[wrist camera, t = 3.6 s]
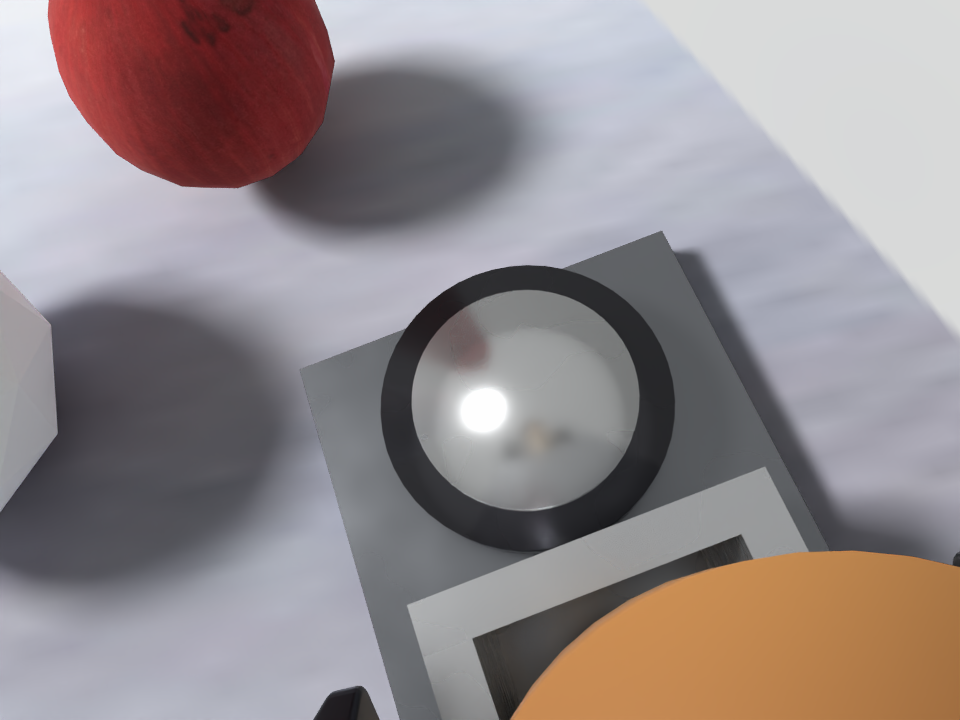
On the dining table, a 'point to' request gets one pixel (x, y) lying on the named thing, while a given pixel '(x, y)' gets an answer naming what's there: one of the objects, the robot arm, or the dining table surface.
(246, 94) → the onion
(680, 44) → the dining table surface
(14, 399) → the ball
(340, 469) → the grey piece
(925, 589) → the orange-brown round-topped piece
